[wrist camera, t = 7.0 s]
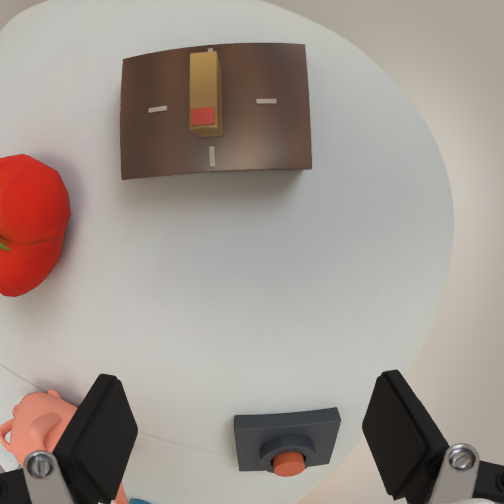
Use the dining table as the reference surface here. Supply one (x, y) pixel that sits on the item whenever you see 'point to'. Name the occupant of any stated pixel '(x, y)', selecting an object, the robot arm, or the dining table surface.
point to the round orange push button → (288, 464)
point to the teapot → (40, 427)
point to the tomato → (29, 222)
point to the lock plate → (233, 112)
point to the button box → (285, 437)
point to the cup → (138, 501)
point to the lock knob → (205, 94)
